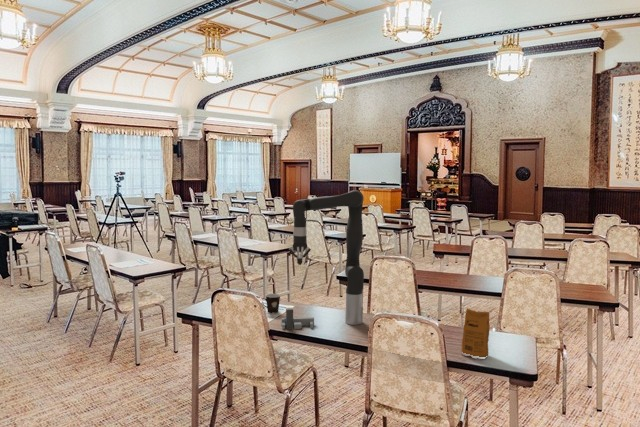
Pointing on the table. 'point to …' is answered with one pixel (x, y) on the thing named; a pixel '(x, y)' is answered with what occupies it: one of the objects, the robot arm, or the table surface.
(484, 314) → the coffee package
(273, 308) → the coffee mug
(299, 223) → the robot arm
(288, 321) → the plug
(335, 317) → the table surface
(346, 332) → the table surface
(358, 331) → the table surface
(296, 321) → the duct
